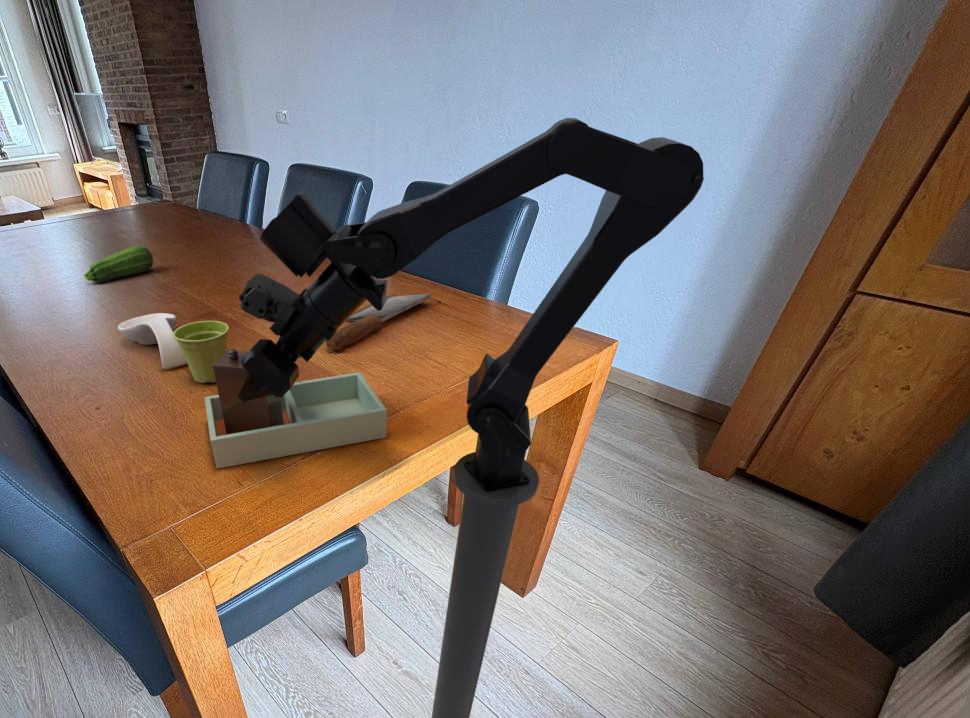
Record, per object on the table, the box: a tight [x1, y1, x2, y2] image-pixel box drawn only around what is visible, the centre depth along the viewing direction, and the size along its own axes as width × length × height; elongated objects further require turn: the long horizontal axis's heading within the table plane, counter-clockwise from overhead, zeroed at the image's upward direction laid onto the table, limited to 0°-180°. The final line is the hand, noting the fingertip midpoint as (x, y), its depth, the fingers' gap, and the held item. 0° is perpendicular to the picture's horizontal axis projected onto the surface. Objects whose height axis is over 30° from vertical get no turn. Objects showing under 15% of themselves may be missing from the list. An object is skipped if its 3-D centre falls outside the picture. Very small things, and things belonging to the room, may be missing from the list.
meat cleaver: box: [325, 293, 432, 352], centre depth 109 cm, size 34×11×4 cm, turn 140°
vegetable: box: [83, 245, 154, 284], centre depth 144 cm, size 7×7×20 cm
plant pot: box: [173, 320, 230, 384], centre depth 89 cm, size 9×9×9 cm
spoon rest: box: [117, 312, 188, 370], centre depth 101 cm, size 24×12×7 cm, turn 32°
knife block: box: [213, 348, 284, 435], centre depth 71 cm, size 5×7×13 cm
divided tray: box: [204, 371, 388, 469], centre depth 75 cm, size 13×24×5 cm, turn 105°
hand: (254, 382), depth 69 cm, fingers open, 9 cm apart
